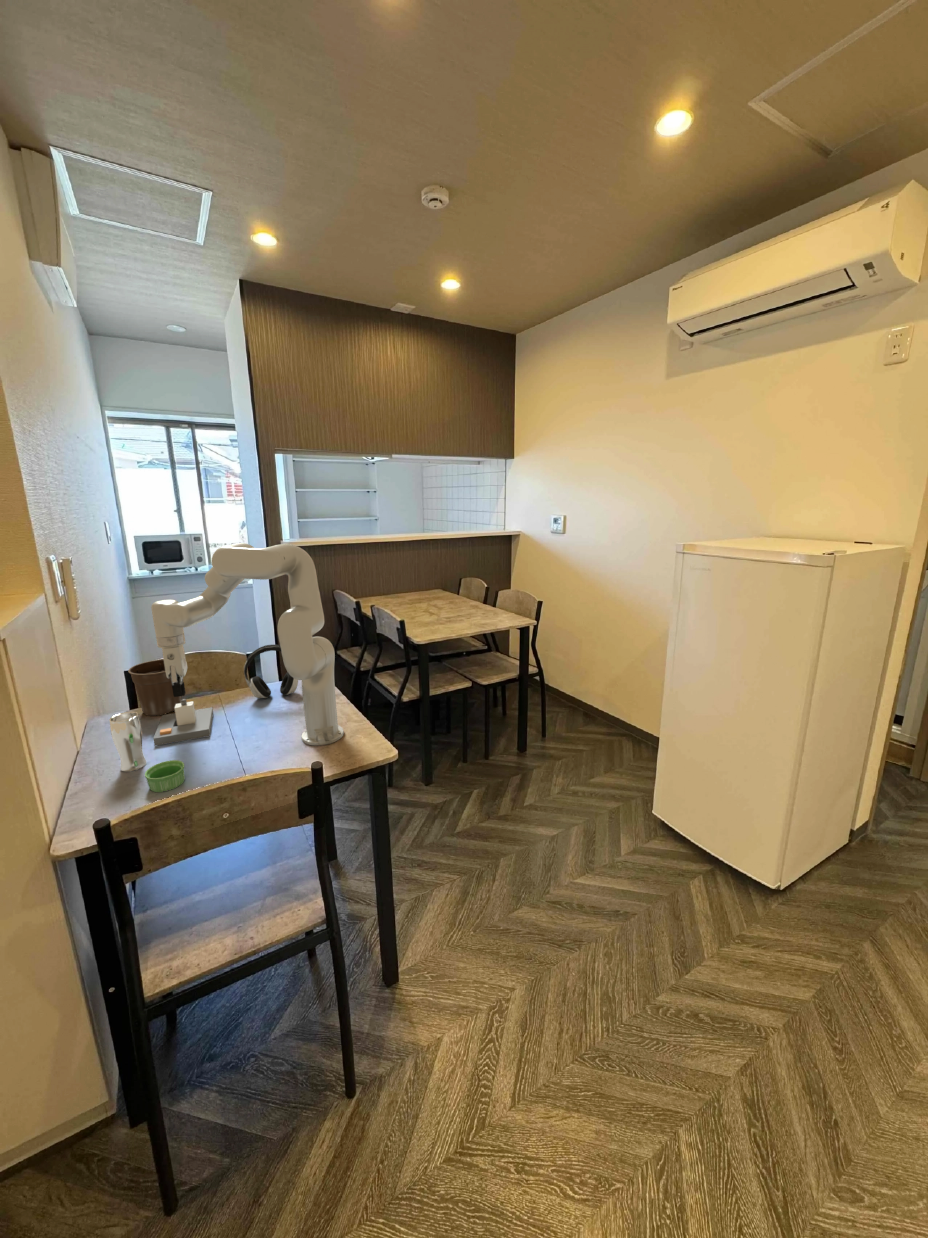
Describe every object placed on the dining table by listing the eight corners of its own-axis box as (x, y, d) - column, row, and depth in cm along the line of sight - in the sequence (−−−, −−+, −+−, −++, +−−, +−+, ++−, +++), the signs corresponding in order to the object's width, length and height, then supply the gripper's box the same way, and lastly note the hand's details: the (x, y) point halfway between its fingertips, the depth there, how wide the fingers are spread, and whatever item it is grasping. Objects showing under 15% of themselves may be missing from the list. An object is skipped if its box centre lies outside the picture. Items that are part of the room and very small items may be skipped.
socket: (209, 736, 156) (208, 726, 156) (154, 745, 151) (152, 736, 150) (213, 713, 173) (212, 705, 172) (163, 721, 167) (162, 712, 166)
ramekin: (168, 772, 136) (165, 758, 135) (194, 777, 134) (192, 762, 133) (139, 791, 128) (136, 775, 127) (166, 796, 125) (163, 781, 124)
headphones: (301, 688, 194) (296, 639, 189) (303, 696, 186) (298, 644, 181) (247, 696, 187) (240, 645, 182) (247, 705, 179) (240, 651, 174)
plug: (196, 728, 161) (191, 700, 159) (178, 731, 159) (173, 703, 157) (197, 723, 164) (192, 696, 162) (179, 726, 162) (175, 699, 160)
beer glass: (126, 775, 135) (115, 724, 131) (113, 768, 139) (103, 718, 135) (153, 763, 141) (143, 714, 137) (140, 757, 144) (131, 709, 141)
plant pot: (193, 697, 187) (186, 656, 183) (184, 714, 172) (177, 670, 168) (143, 703, 182) (135, 661, 178) (130, 722, 167) (121, 676, 163)
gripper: (182, 645, 149) (190, 702, 154) (187, 632, 162) (195, 685, 167) (152, 648, 146) (162, 706, 151) (160, 635, 160) (169, 689, 164)
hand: (179, 695), depth 159 cm, fingers closed
